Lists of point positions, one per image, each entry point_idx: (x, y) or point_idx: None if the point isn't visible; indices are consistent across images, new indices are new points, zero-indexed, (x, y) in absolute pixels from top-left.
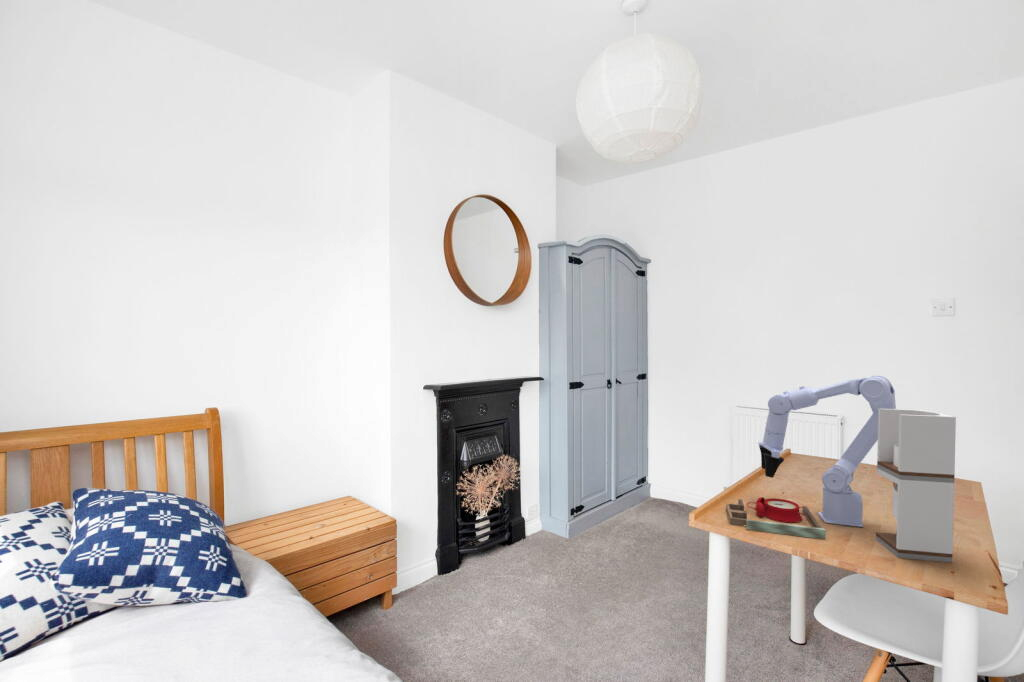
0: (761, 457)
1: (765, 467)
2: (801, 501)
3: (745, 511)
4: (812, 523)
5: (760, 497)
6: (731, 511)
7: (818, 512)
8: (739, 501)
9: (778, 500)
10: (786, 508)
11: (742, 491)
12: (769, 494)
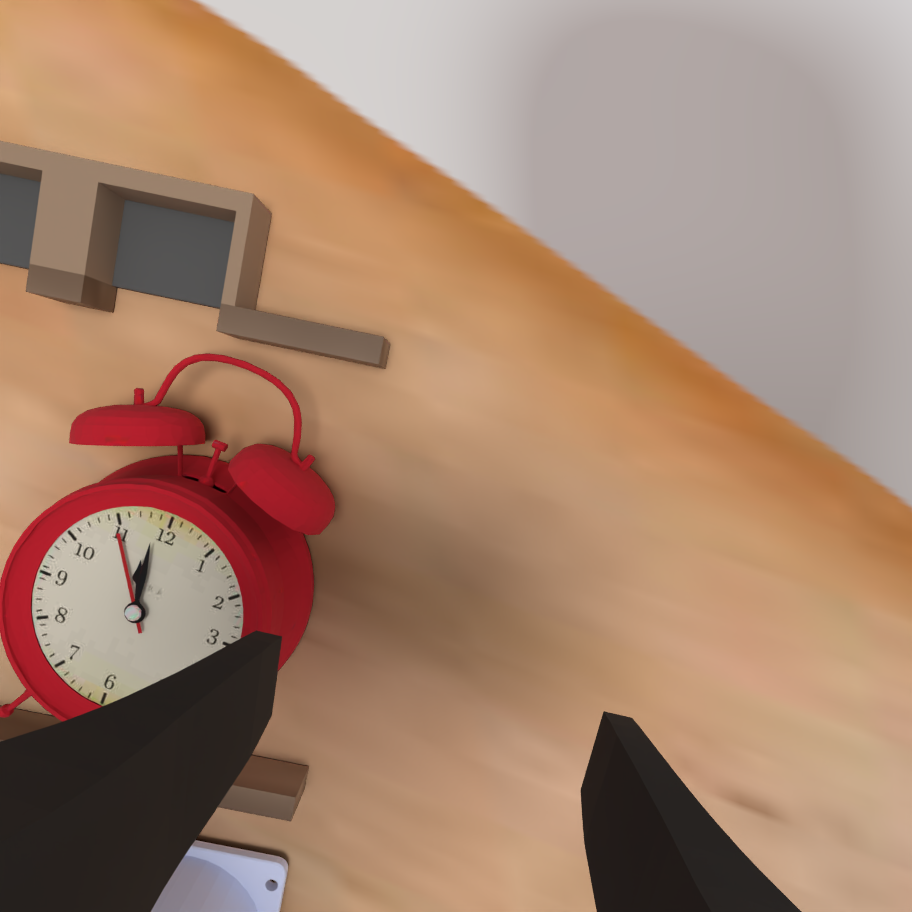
0: (709, 843)
1: (190, 688)
2: (552, 857)
3: (73, 295)
4: (13, 723)
5: (267, 491)
6: (49, 176)
7: (273, 865)
8: (320, 326)
9: (250, 630)
10: (55, 617)
11: (746, 490)
12: (693, 684)
